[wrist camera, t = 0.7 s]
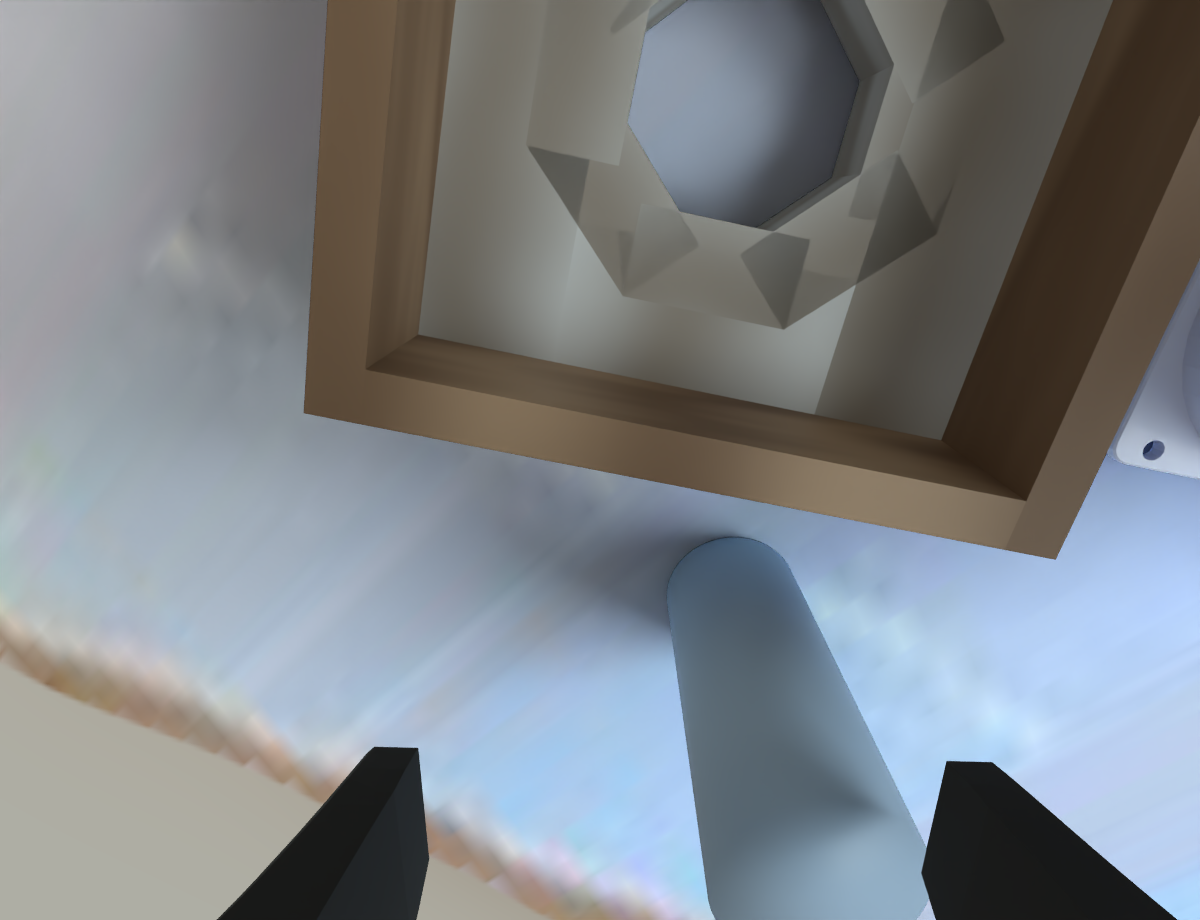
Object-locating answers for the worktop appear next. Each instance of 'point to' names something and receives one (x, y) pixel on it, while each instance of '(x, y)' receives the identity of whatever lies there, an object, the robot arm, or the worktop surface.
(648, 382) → the box
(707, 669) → the peg
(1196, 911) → the worktop surface
